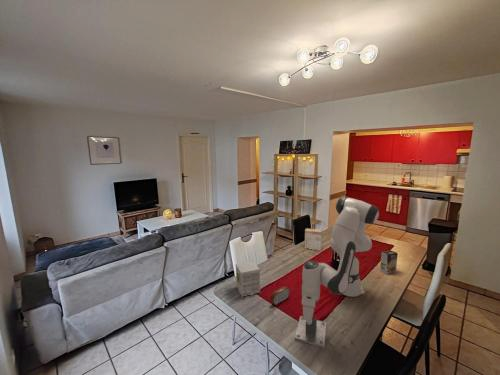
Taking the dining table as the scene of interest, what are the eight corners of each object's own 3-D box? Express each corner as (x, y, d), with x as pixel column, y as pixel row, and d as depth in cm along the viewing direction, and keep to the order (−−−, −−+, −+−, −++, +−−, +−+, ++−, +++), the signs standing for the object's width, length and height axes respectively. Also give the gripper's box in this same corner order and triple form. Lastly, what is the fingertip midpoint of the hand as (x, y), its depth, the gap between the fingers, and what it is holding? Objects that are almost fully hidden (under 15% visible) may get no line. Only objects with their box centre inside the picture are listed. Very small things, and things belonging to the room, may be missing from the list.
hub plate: (300, 317, 125) (300, 311, 125) (326, 324, 120) (326, 317, 119) (294, 339, 111) (294, 332, 110) (324, 348, 105) (324, 340, 105)
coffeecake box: (321, 248, 216) (321, 229, 213) (320, 251, 209) (321, 231, 206) (305, 246, 222) (306, 227, 219) (304, 249, 215) (304, 230, 213)
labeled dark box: (307, 324, 118) (307, 315, 118) (316, 327, 117) (316, 317, 116) (305, 331, 114) (305, 321, 113) (315, 334, 112) (315, 324, 111)
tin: (287, 295, 145) (287, 283, 144) (290, 298, 143) (290, 285, 142) (270, 305, 137) (269, 292, 135) (273, 308, 134) (273, 295, 133)
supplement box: (236, 286, 156) (235, 263, 154) (253, 282, 161) (253, 260, 158) (241, 298, 144) (241, 272, 142) (260, 293, 148) (260, 268, 146)
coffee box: (387, 275, 167) (388, 254, 165) (379, 270, 173) (381, 251, 171) (396, 272, 170) (397, 253, 167) (388, 268, 176) (390, 249, 173)
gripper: (307, 280, 123) (307, 302, 126) (300, 303, 105) (300, 329, 107) (319, 282, 121) (318, 305, 123) (314, 307, 103) (313, 333, 105)
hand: (310, 316), depth 115 cm, fingers open, 8 cm apart
